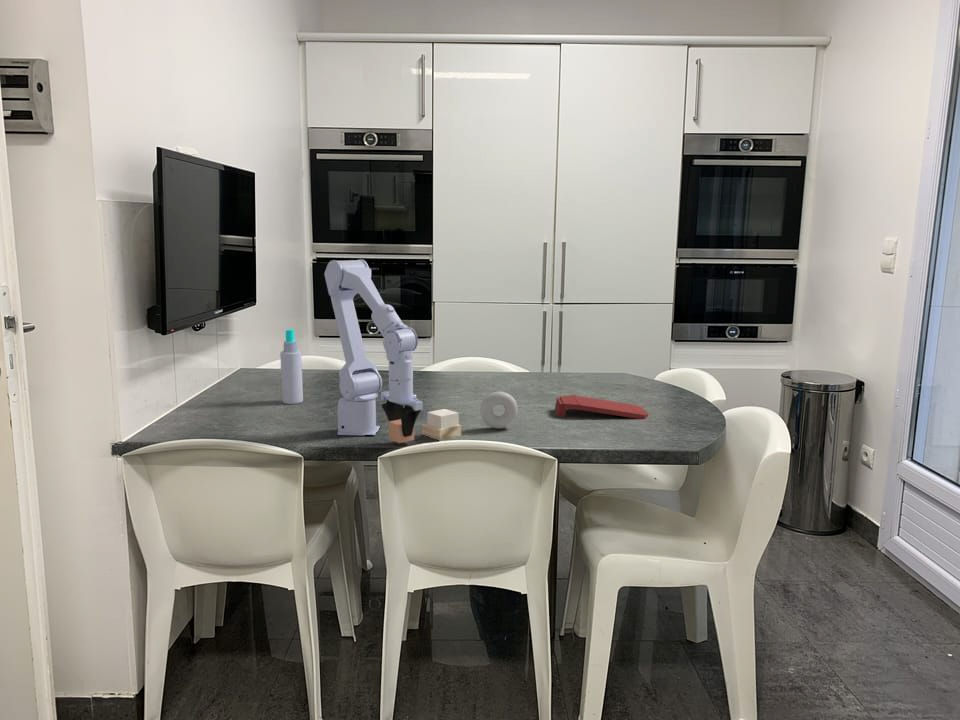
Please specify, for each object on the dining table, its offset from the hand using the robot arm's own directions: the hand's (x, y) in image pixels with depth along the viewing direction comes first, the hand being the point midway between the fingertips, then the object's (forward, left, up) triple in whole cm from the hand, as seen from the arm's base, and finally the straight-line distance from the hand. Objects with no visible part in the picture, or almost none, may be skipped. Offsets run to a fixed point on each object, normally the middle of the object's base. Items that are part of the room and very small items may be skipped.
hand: (401, 433), depth 177 cm
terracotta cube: (0, 0, -2) cm, 2 cm away
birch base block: (+9, +8, -3) cm, 12 cm away
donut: (+23, +16, -3) cm, 28 cm away
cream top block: (+9, +8, 0) cm, 12 cm away
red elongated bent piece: (+52, +35, -3) cm, 62 cm away
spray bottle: (-40, +41, -3) cm, 57 cm away
